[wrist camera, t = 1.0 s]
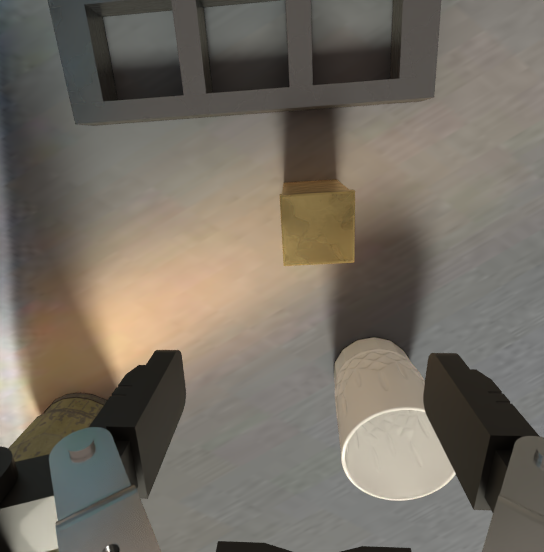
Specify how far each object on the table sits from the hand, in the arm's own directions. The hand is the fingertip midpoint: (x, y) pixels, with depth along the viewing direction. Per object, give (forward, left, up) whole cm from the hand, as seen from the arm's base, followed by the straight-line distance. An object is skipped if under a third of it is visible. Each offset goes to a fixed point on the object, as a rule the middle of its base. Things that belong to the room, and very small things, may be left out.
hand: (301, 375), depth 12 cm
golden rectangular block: (-1, -2, -19) cm, 19 cm away
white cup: (-6, +13, -19) cm, 24 cm away
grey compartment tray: (+3, -13, -19) cm, 23 cm away
